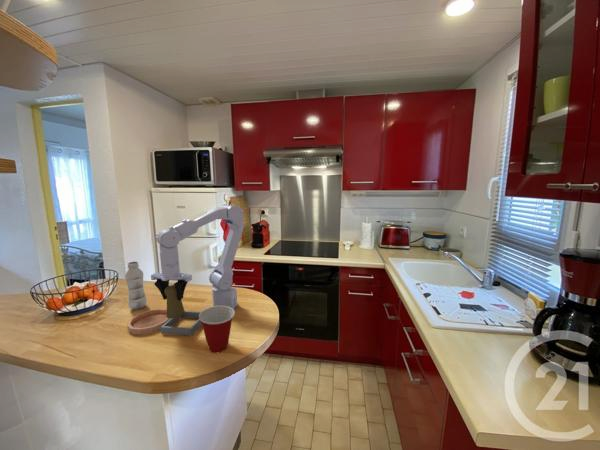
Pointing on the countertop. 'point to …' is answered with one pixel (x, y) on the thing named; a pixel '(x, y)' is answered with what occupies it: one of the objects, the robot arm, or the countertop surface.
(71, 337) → the countertop surface
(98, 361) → the countertop surface
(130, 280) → the plastic bottle
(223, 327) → the plastic cup
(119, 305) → the countertop surface
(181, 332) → the parts tray
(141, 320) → the dish
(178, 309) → the olive rounded piece
